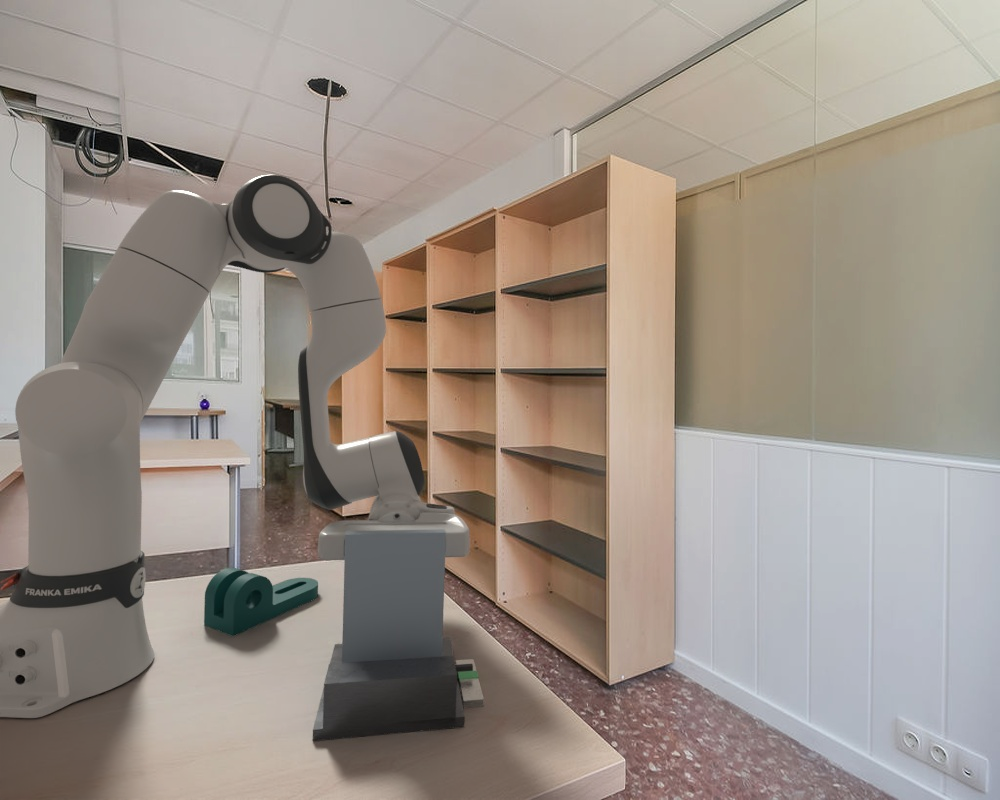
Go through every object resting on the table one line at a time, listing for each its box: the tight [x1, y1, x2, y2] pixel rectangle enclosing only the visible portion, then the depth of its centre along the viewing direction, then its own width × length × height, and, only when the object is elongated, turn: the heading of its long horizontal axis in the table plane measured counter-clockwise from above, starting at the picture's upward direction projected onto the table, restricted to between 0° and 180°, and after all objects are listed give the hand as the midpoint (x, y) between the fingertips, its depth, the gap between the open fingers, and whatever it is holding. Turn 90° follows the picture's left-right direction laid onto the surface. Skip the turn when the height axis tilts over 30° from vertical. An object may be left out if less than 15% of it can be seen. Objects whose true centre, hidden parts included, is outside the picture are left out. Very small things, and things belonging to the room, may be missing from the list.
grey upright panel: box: [341, 529, 473, 672], centre depth 64 cm, size 16×2×18 cm, turn 101°
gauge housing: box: [312, 637, 485, 742], centre depth 65 cm, size 19×18×6 cm
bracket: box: [203, 567, 319, 637], centre depth 85 cm, size 18×7×8 cm, turn 153°
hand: (395, 558), depth 65 cm, fingers closed, pressing on grey upright panel
